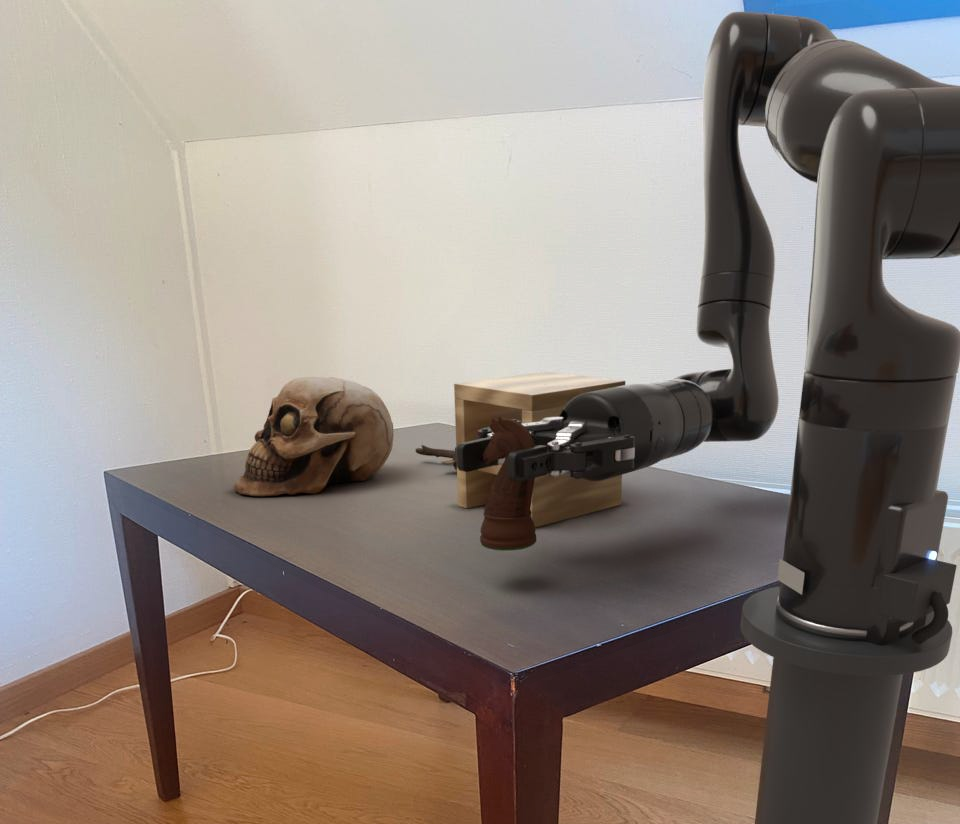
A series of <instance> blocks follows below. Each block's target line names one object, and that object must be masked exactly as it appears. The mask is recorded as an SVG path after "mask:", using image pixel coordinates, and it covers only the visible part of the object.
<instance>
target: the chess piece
mask: <svg viewBox="0 0 960 824" xmlns="http://www.w3.org/2000/svg"><path fill="white" fill-rule="evenodd" d="M498 419H499V421H496V420H494V419H492V420H491V421H492V423H493V424H491V425H490V426H489V427H490V429H491V430H492V432H493V433H494V435H492V436H491V440H490V443H489V444H488V446H487V448H486V449H485V451H484V452H483V454H482V456H483V460H484V461H486V462H485V464H487V465H488V466H491V465H492V464H493V463H494V462H495V461H496V460H498V459H500V458H503V457H506V458H505V461H504V463H503V465H502V466H501V468H500V470H499V472H498V474H497V476H496V478H495V480H494V482H493V484H492V486H491V489H490V491H489V494H488V497H487V501H486V504H484V505H485V506H484V511H483V516H484V518H483V521H482V523H481V525H480V537H479V542H480V544H481V546H482V547H484V548H485V549H489V550H493V551H504V552H505V551H506V552H507V551H519V550H524V549H528V548H530V547H532V546H534V545H536V543H537V533H536V528H537V527H535V524H534V522H533V520H532V518H531V511H530V508H531V499H532V493H533V487H534V480H535V478H533V479H529V480H525V481H522V482H514V481H510V480H509V478H508V456H509V454H510V453H511V452H514V451H518V450H522V449H526V448H530V447H535V444H534V441H533V438H532V436H531V434H530V432H529V431H528V430H527V428H526V427H525V426H523V425H522V424H521V423H519V422H517V421H515V420H511V419H502V418H501V417H499V418H498Z"/></svg>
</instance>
